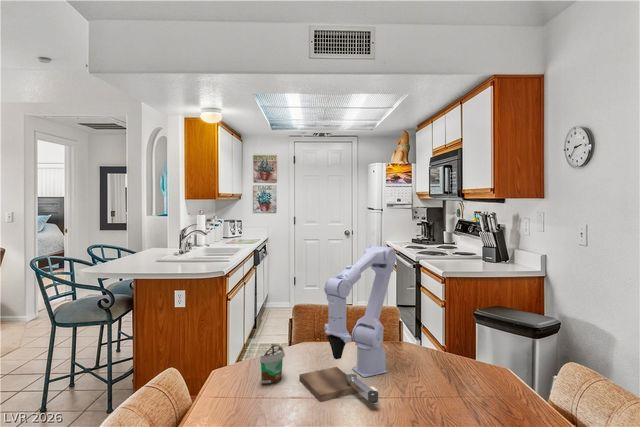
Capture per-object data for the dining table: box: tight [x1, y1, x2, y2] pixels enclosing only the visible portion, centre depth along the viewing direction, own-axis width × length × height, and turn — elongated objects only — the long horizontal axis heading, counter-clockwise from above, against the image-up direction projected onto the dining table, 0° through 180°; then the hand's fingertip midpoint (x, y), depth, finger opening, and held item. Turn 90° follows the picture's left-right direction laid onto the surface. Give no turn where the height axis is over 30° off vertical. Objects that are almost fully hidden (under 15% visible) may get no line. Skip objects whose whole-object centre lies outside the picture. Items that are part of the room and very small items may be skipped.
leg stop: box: [369, 385, 379, 405], centre depth 122 cm, size 1×3×4 cm, turn 26°
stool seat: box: [298, 366, 360, 403], centre depth 133 cm, size 14×16×2 cm
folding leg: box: [347, 373, 379, 404], centre depth 124 cm, size 15×3×2 cm, turn 26°
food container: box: [259, 343, 286, 386], centre depth 137 cm, size 12×6×10 cm, turn 168°
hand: (337, 358), depth 131 cm, fingers closed
